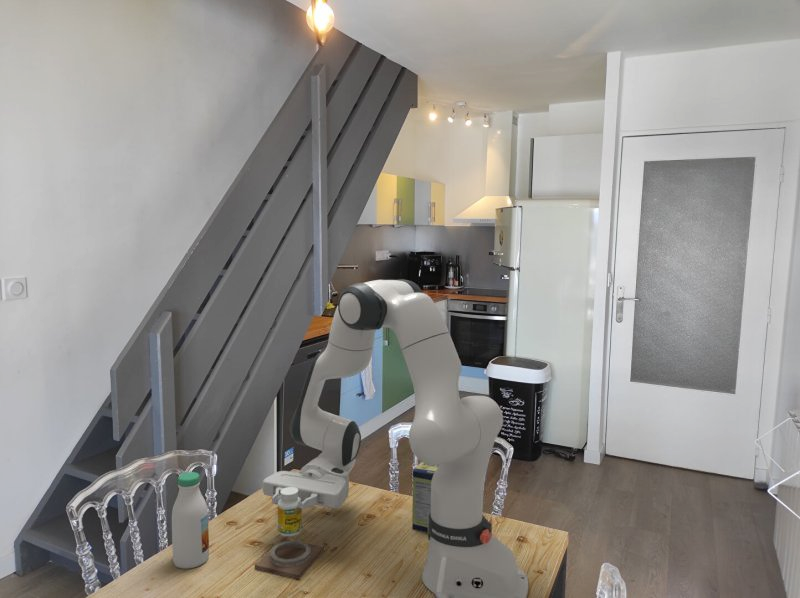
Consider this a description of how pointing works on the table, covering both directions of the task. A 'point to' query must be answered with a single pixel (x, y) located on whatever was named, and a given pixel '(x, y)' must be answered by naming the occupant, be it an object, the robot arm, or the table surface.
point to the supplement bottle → (289, 512)
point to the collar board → (290, 558)
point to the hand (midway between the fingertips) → (287, 503)
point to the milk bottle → (189, 524)
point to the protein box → (422, 495)
